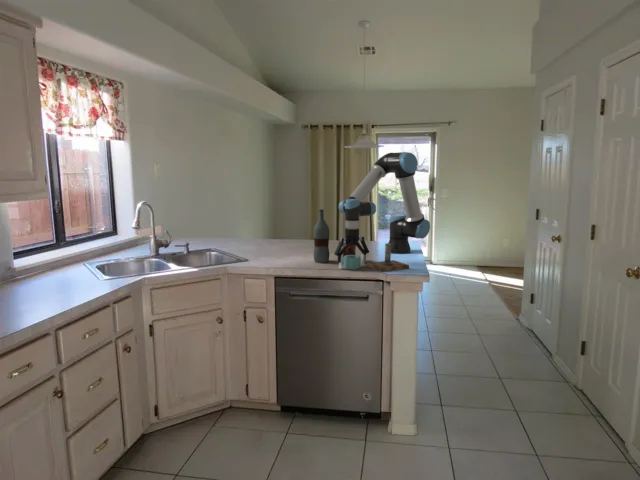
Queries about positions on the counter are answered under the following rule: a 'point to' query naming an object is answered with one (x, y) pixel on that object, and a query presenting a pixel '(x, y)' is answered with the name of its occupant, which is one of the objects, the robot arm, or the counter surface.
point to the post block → (387, 262)
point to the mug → (350, 250)
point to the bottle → (321, 240)
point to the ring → (351, 261)
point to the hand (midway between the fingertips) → (351, 267)
